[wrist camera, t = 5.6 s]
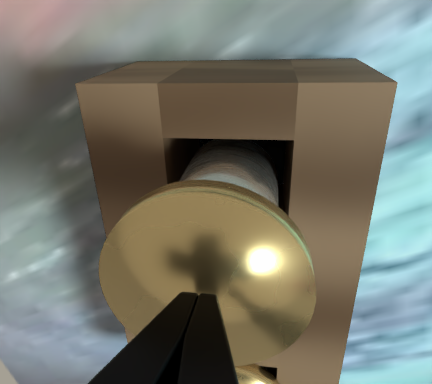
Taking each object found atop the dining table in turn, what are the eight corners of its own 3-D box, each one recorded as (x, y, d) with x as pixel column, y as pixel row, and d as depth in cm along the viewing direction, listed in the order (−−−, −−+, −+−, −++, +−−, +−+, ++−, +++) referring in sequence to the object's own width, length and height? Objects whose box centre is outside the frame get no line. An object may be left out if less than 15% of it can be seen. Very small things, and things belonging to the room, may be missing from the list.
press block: (314, 354, 24) (325, 451, 19) (171, 340, 25) (144, 426, 20) (355, 58, 15) (397, 82, 10) (137, 61, 17) (74, 83, 12)
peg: (294, 238, 15) (305, 377, 9) (173, 231, 16) (116, 356, 10) (304, 116, 12) (328, 201, 7) (162, 114, 13) (78, 190, 8)
